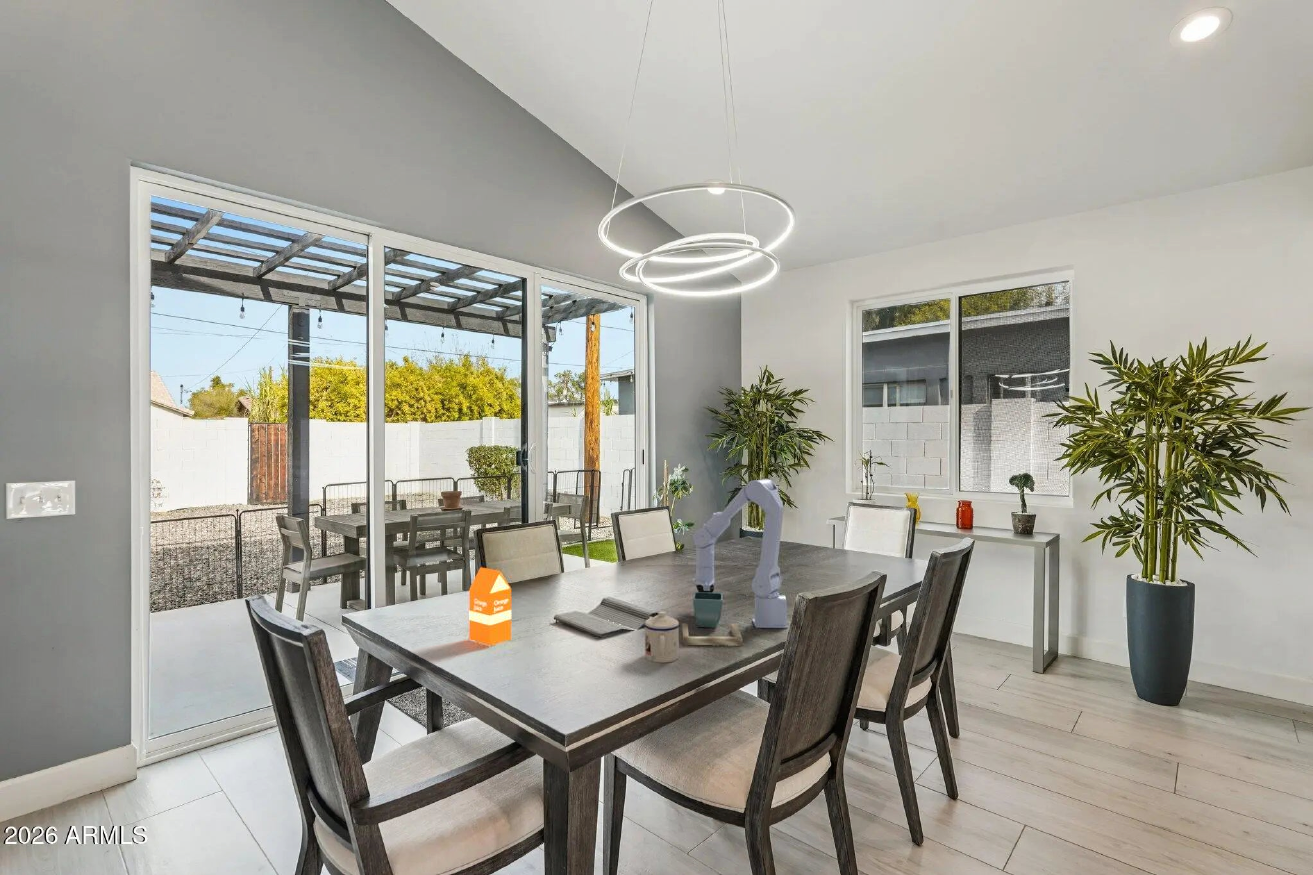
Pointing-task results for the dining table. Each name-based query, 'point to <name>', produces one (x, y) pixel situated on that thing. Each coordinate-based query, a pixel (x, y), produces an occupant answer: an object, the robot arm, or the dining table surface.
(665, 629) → the teacup with lid
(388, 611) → the dining table surface
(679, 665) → the dining table surface
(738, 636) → the cream wooden frame
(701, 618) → the flower pot
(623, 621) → the mat
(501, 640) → the orange juice
